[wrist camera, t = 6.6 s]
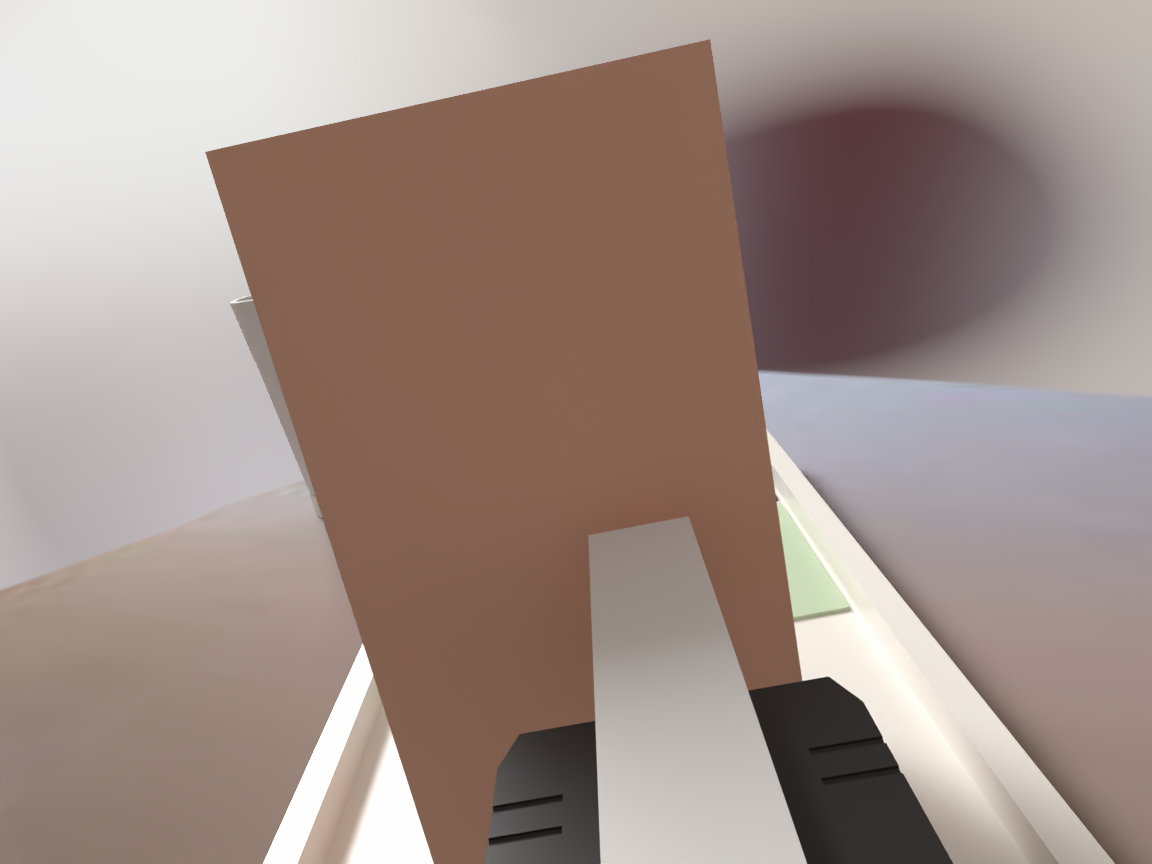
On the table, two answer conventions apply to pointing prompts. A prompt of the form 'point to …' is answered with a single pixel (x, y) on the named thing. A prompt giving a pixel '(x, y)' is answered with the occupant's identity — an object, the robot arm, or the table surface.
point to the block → (514, 389)
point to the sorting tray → (826, 648)
